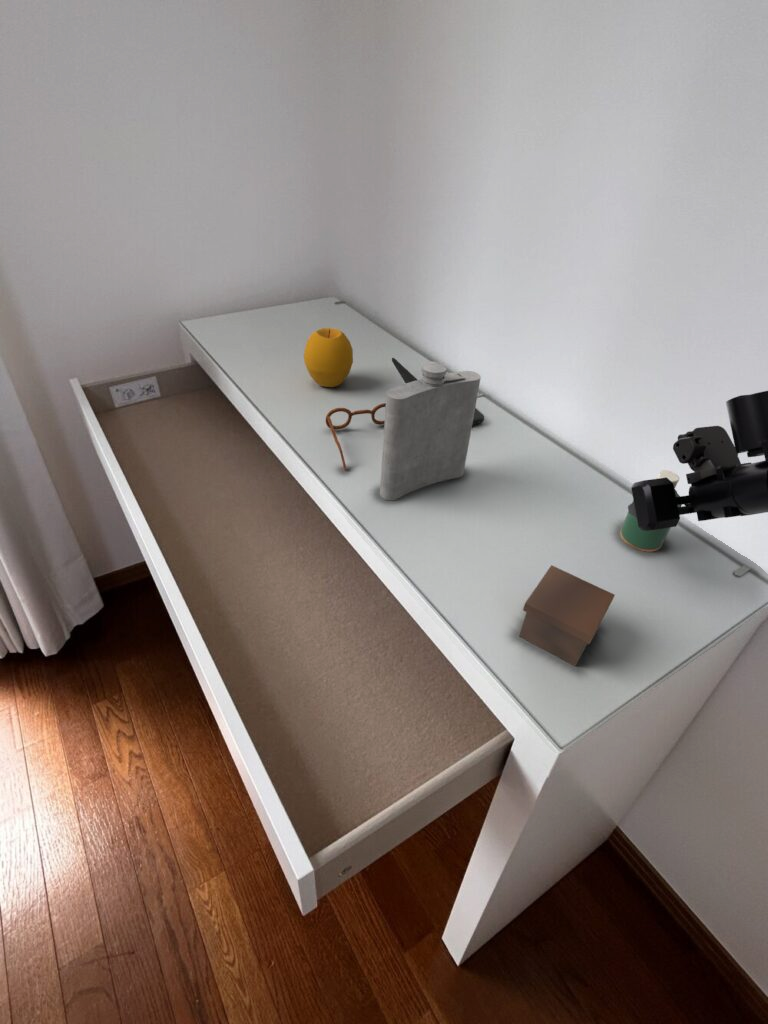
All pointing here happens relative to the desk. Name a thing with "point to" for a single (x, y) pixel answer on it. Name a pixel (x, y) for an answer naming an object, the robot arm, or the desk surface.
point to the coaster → (638, 547)
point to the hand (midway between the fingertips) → (657, 505)
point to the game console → (410, 378)
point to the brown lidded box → (564, 614)
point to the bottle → (652, 537)
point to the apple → (328, 357)
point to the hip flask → (427, 429)
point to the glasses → (329, 423)
